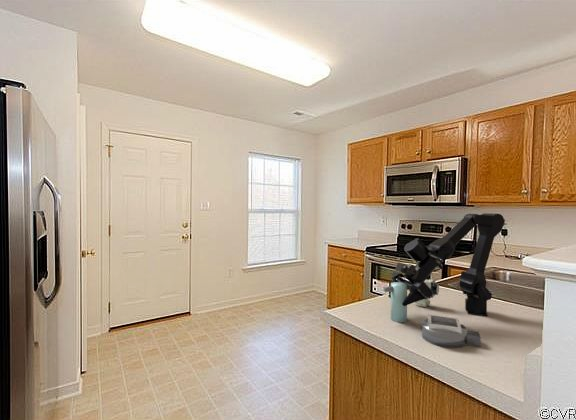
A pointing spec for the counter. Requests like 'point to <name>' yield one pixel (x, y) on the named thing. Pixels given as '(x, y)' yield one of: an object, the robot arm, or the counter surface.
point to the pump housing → (398, 301)
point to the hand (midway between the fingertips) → (395, 301)
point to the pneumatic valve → (433, 287)
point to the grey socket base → (448, 332)
